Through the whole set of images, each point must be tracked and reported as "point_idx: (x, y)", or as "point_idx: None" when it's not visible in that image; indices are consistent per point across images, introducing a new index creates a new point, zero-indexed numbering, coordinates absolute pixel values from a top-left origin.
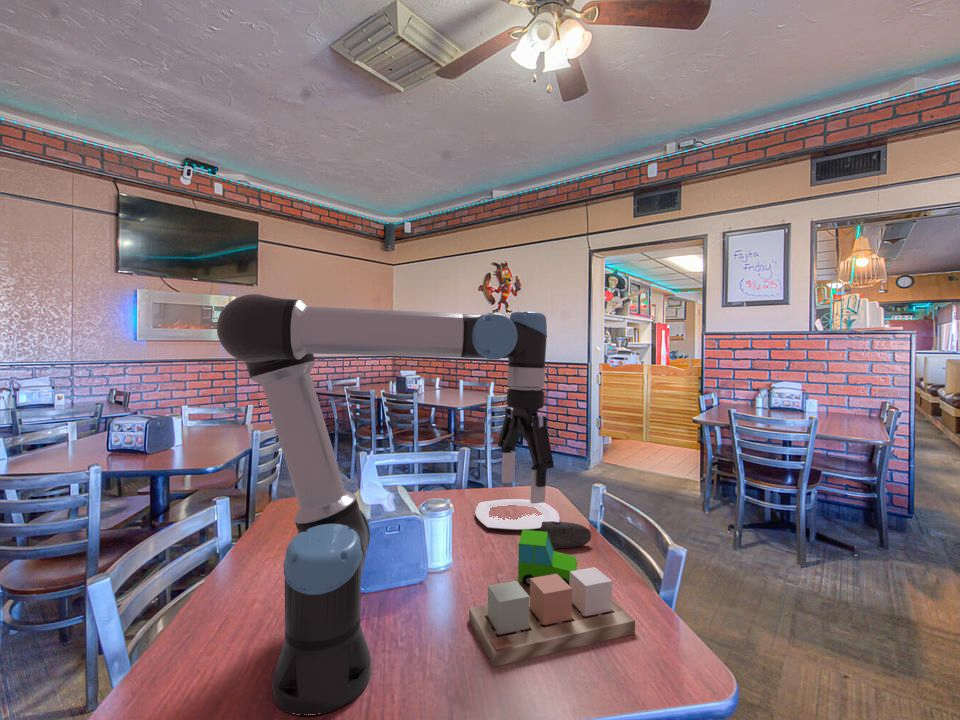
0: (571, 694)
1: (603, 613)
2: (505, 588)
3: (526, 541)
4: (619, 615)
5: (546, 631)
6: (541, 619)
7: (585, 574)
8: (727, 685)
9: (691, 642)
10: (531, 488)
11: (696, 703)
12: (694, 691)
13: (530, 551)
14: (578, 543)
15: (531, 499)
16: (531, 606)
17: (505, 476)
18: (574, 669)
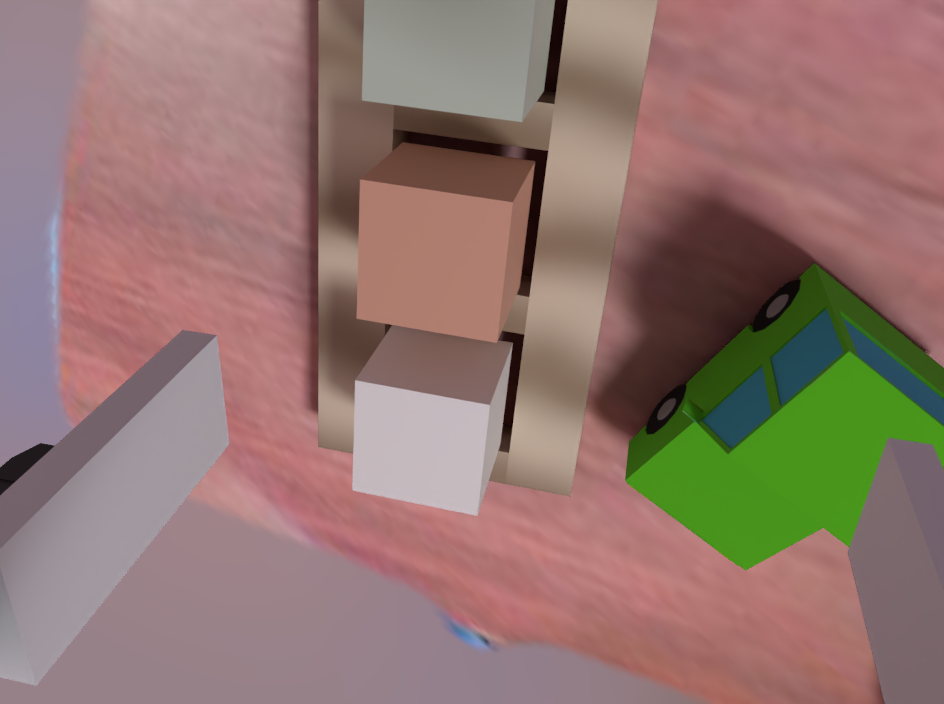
0: (149, 49)
1: None
2: (474, 22)
3: (843, 404)
4: None
5: (367, 130)
6: (418, 147)
7: (436, 441)
8: None
9: (250, 517)
10: (133, 404)
11: (57, 339)
12: (92, 368)
13: (789, 380)
14: None
15: (184, 348)
16: (515, 162)
17: (895, 511)
18: (244, 131)
